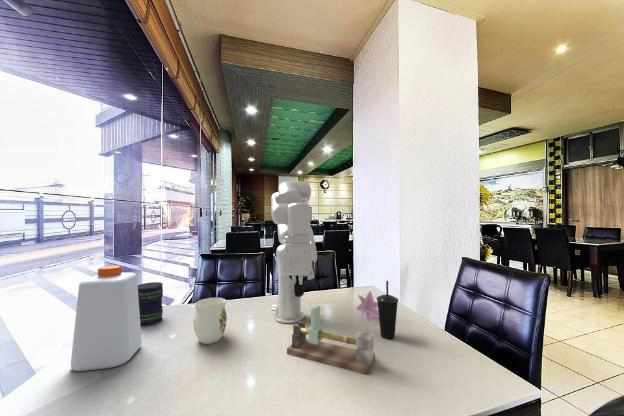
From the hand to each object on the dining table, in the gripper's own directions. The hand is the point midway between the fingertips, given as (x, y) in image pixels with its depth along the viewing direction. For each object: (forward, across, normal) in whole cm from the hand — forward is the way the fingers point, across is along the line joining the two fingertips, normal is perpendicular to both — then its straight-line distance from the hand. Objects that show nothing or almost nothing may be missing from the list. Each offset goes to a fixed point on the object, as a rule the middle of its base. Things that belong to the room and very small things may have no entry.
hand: (299, 295), depth 87 cm
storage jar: (+17, -68, -6) cm, 70 cm away
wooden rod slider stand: (+18, +10, +1) cm, 20 cm away
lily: (+17, +14, +37) cm, 43 cm away
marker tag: (+14, +5, +1) cm, 15 cm away
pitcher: (+17, -33, -6) cm, 37 cm away
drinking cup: (+18, +24, +22) cm, 37 cm away
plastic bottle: (+18, -52, -29) cm, 62 cm away
